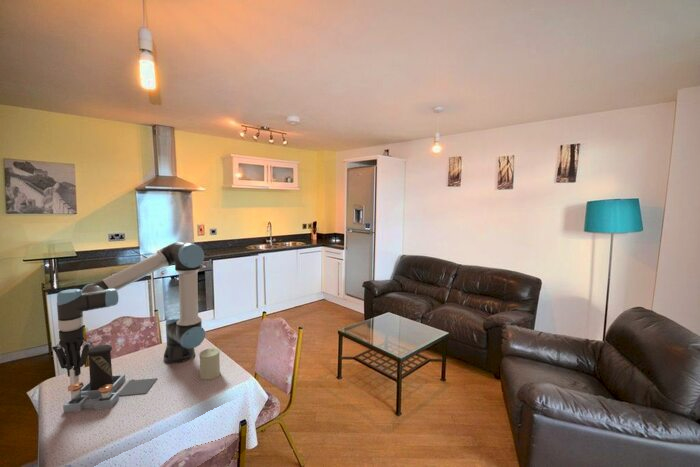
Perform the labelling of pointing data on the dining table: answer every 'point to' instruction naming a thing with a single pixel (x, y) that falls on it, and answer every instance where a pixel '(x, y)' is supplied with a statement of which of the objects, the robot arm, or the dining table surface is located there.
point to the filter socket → (95, 393)
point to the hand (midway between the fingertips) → (74, 383)
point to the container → (100, 366)
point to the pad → (137, 387)
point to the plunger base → (90, 403)
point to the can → (209, 364)
